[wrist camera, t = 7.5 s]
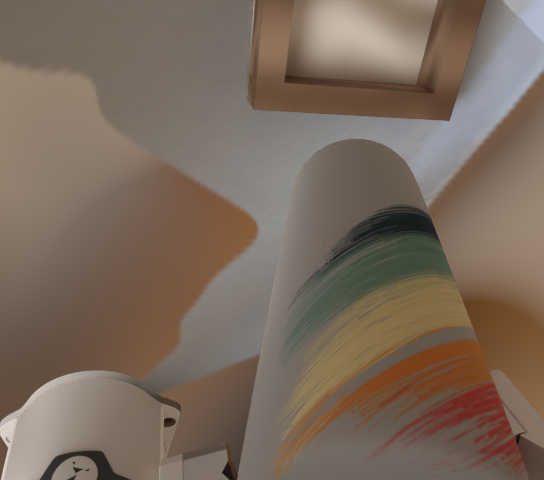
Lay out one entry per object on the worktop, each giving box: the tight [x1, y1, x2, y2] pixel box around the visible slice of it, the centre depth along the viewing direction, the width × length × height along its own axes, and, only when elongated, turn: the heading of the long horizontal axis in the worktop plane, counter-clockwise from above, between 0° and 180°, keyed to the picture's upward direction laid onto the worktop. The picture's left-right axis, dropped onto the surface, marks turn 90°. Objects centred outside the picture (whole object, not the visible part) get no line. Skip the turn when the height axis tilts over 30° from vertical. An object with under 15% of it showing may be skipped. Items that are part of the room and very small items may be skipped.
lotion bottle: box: [237, 139, 530, 480], centre depth 13 cm, size 6×6×20 cm
